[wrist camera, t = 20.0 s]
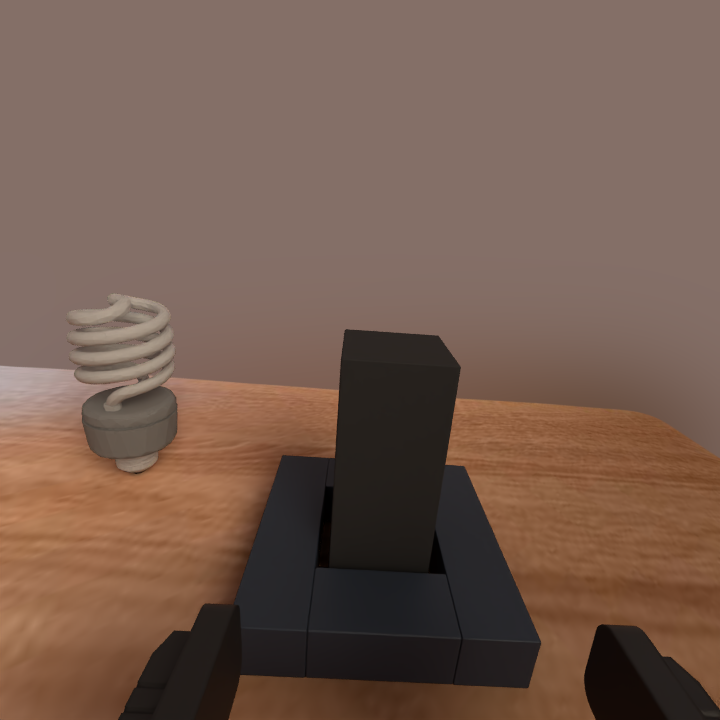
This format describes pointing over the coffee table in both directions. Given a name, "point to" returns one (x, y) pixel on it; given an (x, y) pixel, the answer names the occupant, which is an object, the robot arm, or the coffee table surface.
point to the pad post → (390, 449)
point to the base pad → (381, 596)
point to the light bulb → (111, 365)
